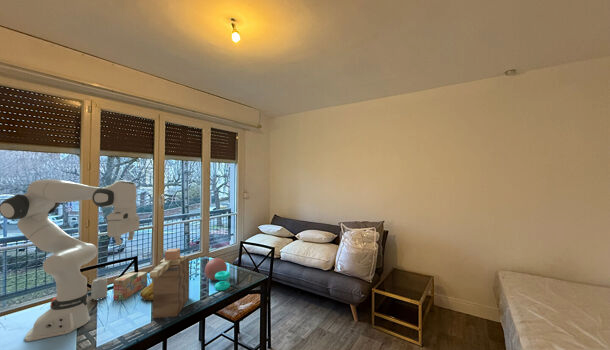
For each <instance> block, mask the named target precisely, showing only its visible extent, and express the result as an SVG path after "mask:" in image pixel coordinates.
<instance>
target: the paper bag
mask: <svg viewBox="0 0 610 350" xmlns="http://www.w3.org/2000/svg"><path fill="white" fill-rule="evenodd" d="M184 256H185V259H184V260H183V261H182V262H181V263H180V264H179V265H171V266H170V267H169V268H168V269H167V270H166V271H164V272H163V273H162V274H161V275H160V276H159V277H158V278H154V279H152V282H153V300H152V318H153V319H156V318H169V317H178V315H179V313H180V312H181V311H182V310H183V308H184V306H185V305H186V303H187V302H188V301H189V298H190V255H184ZM158 266H159V264H158V265H156V266H155V267H154V268H152V270H154V269H155V268H156V267H158Z"/></svg>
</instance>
